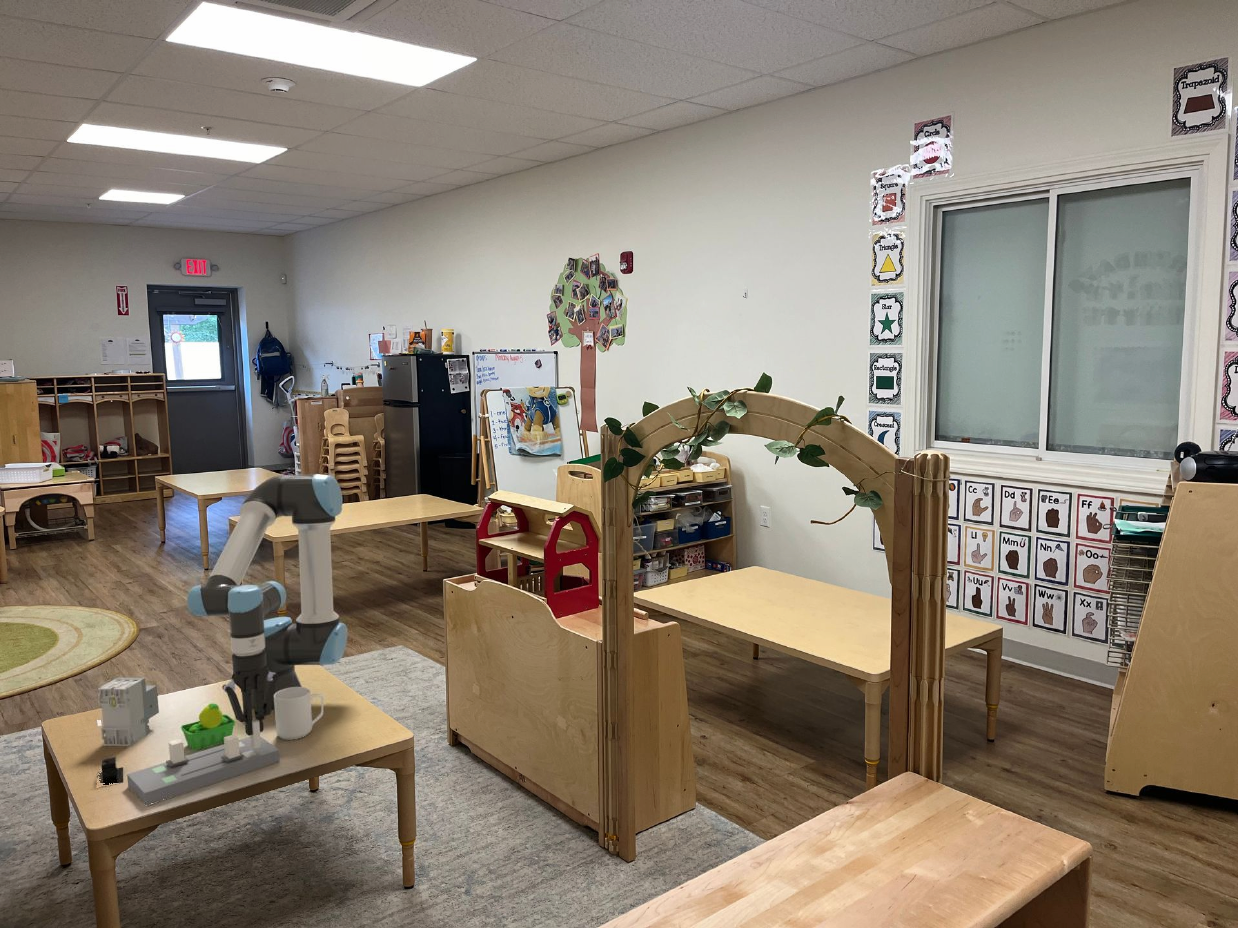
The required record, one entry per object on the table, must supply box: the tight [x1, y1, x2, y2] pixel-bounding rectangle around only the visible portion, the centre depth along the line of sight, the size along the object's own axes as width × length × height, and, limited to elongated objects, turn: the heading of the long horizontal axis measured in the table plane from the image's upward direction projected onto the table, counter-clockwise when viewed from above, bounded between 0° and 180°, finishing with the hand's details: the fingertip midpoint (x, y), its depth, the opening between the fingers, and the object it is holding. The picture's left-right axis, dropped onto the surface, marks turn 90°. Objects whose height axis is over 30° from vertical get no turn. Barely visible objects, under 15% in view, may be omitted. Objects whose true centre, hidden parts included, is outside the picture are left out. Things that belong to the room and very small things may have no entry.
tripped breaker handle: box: [221, 733, 244, 762], centre depth 211 cm, size 4×3×5 cm
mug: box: [274, 686, 324, 741], centre depth 233 cm, size 12×9×11 cm
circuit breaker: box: [97, 677, 160, 747], centre depth 234 cm, size 8×14×15 cm, turn 174°
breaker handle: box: [165, 738, 189, 767], centre depth 209 cm, size 4×3×5 cm
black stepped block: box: [98, 756, 124, 785], centre depth 210 cm, size 12×7×5 cm, turn 29°
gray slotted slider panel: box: [126, 735, 281, 806], centre depth 211 cm, size 30×13×3 cm, turn 134°
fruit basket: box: [180, 702, 236, 751], centre depth 227 cm, size 11×9×11 cm
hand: (255, 745), depth 215 cm, fingers closed
